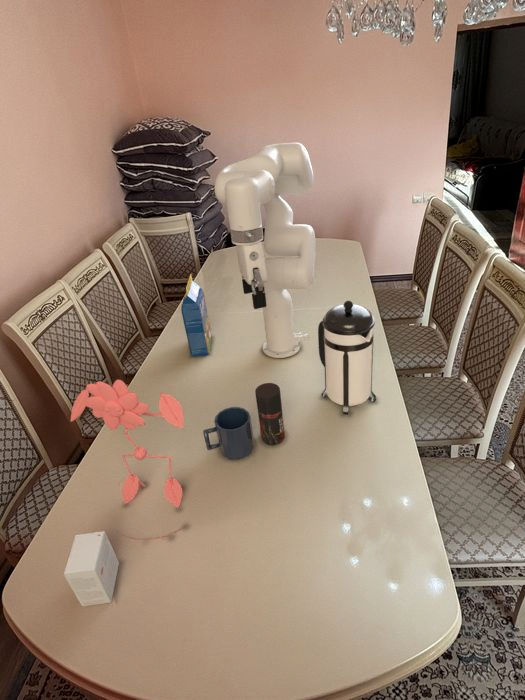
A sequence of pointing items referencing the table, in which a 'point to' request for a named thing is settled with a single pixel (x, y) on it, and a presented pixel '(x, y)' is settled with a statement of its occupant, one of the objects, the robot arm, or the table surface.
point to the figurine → (130, 426)
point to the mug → (232, 433)
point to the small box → (92, 568)
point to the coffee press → (347, 354)
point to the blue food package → (196, 320)
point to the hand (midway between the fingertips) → (254, 299)
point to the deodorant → (270, 413)
